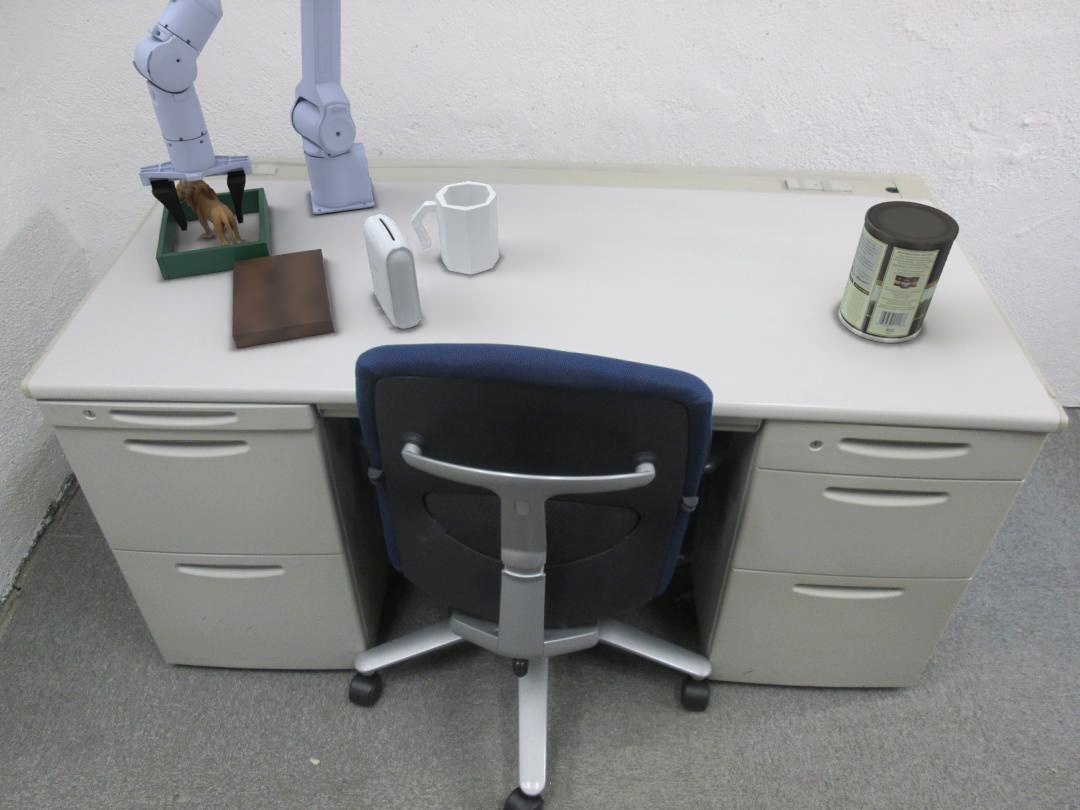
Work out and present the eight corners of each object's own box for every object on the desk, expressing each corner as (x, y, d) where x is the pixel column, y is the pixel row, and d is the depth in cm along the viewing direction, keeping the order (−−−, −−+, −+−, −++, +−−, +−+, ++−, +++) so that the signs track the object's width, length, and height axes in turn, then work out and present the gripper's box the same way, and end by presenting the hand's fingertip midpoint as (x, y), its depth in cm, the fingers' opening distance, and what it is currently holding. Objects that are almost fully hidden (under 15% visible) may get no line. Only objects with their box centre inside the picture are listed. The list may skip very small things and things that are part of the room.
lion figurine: (180, 232, 119) (161, 176, 113) (211, 219, 122) (194, 164, 116) (236, 265, 112) (218, 207, 106) (268, 250, 115) (252, 193, 109)
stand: (323, 260, 113) (321, 248, 111) (334, 332, 100) (331, 319, 98) (237, 273, 110) (233, 261, 109) (236, 348, 97) (232, 335, 96)
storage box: (268, 207, 125) (263, 187, 123) (272, 263, 112) (266, 242, 110) (171, 220, 122) (164, 199, 120) (163, 279, 109) (155, 257, 107)
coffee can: (888, 291, 106) (922, 194, 97) (938, 335, 98) (979, 235, 89) (821, 304, 104) (848, 206, 94) (866, 350, 96) (901, 248, 87)
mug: (499, 242, 116) (496, 180, 110) (499, 274, 110) (496, 209, 103) (417, 244, 116) (410, 182, 109) (413, 276, 110) (404, 212, 103)
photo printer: (370, 293, 106) (356, 209, 98) (401, 285, 108) (389, 202, 100) (394, 333, 99) (380, 247, 91) (426, 324, 101) (416, 239, 93)
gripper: (124, 150, 102) (158, 244, 111) (241, 138, 105) (264, 230, 114) (130, 130, 107) (161, 220, 116) (241, 118, 110) (263, 208, 119)
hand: (213, 224), depth 115 cm, fingers open, 7 cm apart
